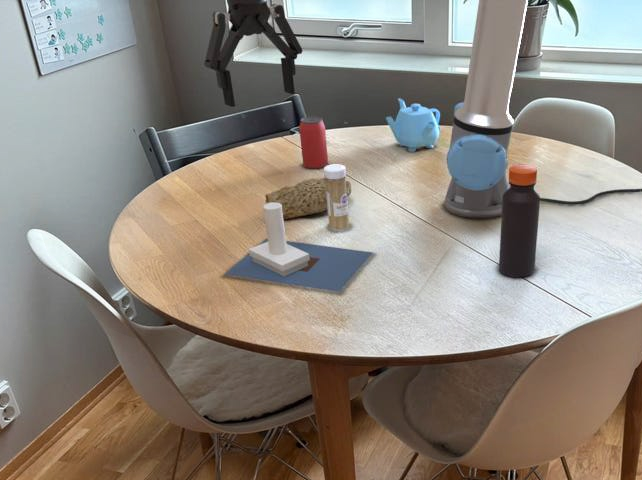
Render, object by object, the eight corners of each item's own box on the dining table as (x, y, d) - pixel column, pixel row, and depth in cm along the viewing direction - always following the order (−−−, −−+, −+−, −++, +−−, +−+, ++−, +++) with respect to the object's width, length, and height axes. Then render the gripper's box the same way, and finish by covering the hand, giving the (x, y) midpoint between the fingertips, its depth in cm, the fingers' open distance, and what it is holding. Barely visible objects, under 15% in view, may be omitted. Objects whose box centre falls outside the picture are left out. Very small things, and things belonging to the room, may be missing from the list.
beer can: (333, 163, 191) (329, 117, 185) (317, 171, 187) (313, 124, 180) (314, 159, 194) (309, 114, 187) (298, 166, 190) (292, 120, 183)
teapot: (381, 150, 199) (379, 108, 193) (399, 136, 210) (398, 96, 204) (433, 156, 195) (432, 113, 188) (449, 141, 205) (450, 100, 199)
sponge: (275, 232, 158) (361, 203, 160) (262, 198, 155) (350, 169, 157) (272, 220, 170) (352, 193, 172) (260, 188, 167) (342, 161, 169)
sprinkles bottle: (345, 232, 155) (340, 171, 147) (325, 230, 156) (319, 169, 148) (352, 224, 158) (348, 164, 151) (333, 222, 160) (328, 162, 152)
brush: (277, 250, 147) (269, 193, 140) (310, 265, 141) (304, 207, 134) (250, 261, 143) (241, 203, 136) (283, 277, 137) (275, 218, 130)
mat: (373, 254, 146) (373, 252, 145) (339, 294, 132) (339, 291, 132) (266, 240, 152) (266, 238, 152) (224, 276, 139) (224, 274, 139)
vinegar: (507, 259, 143) (513, 160, 132) (539, 267, 140) (548, 166, 129) (492, 273, 138) (497, 171, 127) (525, 281, 135) (533, 178, 124)
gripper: (291, -29, 141) (302, 84, 153) (171, -16, 128) (194, 107, 140) (312, -26, 137) (322, 91, 149) (190, -12, 123) (212, 114, 135)
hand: (260, 99), depth 144 cm, fingers open, 13 cm apart
